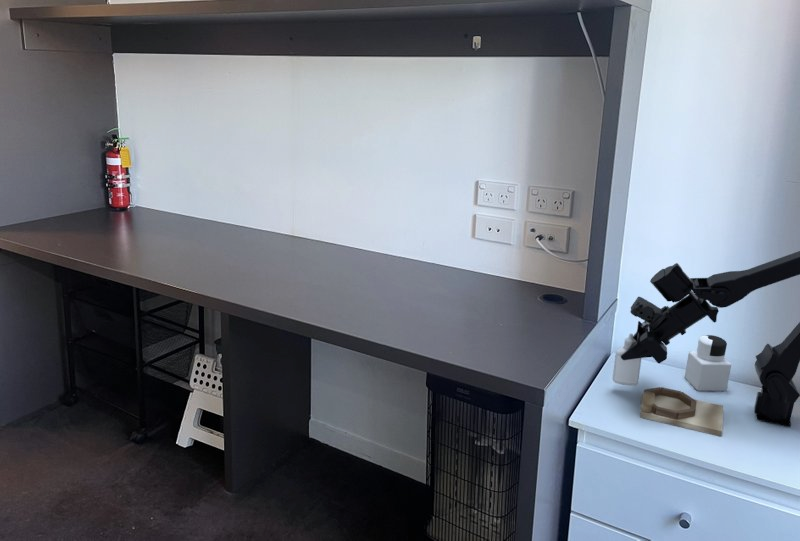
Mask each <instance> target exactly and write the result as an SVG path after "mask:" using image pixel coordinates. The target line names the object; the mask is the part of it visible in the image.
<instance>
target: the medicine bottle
mask: <svg viewBox="0 0 800 541" xmlns="http://www.w3.org/2000/svg"><path fill="white" fill-rule="evenodd" d="M727 345H728V342H727V341H726V340H725V339H724V338H722V337H720V336H718V335H711V334H707V335H706V334H705V335H702V336H699V338H698V342H697V347H696V348H697V349H696V350H695V351H694V350H693V351H692V350H691V351H688V354H687V360H686V365H685V370H684V378H685V379H686V380H687V382H688V383H690V385H692V386H693V388H694V389H695V390H696V391H697V392H698V391H699V392H726V391H727V389H728V385H729V380H730V375H731V370H732V363H731V362H729V360H728V359H726V358H725V357H726V356H725V355H726V351H727Z"/></svg>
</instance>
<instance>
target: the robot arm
mask: <svg viewBox="0 0 800 541" xmlns="http://www.w3.org/2000/svg"><path fill="white" fill-rule="evenodd" d="M797 276H800V250H799V251H796V252H793V253H790V254H787V255H785V256H781V257H779V258H776V259H773V260H771V261H767V262H765V263H762V264H760V265H756V266H754V267H750V268H748V269H744V270H735V271H734V270H733V271H732V270H731V271H726V272H725V271H724V272H720V273H719V272H718V273H716V274H715V273H714V274H712V275H710V276H709V277H692V278H691V277H689V276H688V275H687V274H686V272H685V271H684V270H683V268H682V267H681V265H680V264H679V263H678V262H676V263H674V264H673V265H670V266H667V267H665V268H662V269H660V270H659V271H658V272H656V273H655V274H654V275H653V276H652V277H651V279H650V281H649V283H650V284H652V286H653V287H654V288H655V289H656V290H657V291H658V293H659V294H660V295H661V296H662V297H663V298H664V300H666V302H672V303H674V304H673V305H671V306H669V305H667V306H666V305H665V306H662V308H660V307H658V305H656V304H654V303H652V302H650V301H649V300H647V299H645V298H643V297H641V296H638V297H636V299H635V301H634V302H633V303H632V305H631V306H630V312H629V313H630V314H631V315H632V316H634V317H636V318H637V317H638V318H639V319H641V320H643V322H641V321H640V320H638V322H637V328H636V329H637V330H636V332H635V333H634V334H633V339H635V340H636V342H635V343H634V344H633V345H632V346H631V347H630V348H629V349H628V350H627V351H625V352H624V353H623V354H622V355H621V358H622V359H623V360H630V359H637V358H641V359H645V358H653V360H655V361H656V362H657V364H661V363H662V362H665V361H666V360H667V357H668V347H667V346H668V345H670V344H671V341H670V340H672V339H674V338H675V337H677V336H678V335H679V334H680V335H681V336H683V335H685V334H686V333H687V331H686V330H688V329H689V328H690V327H692V326H694V324H696V323H699V322H700V321H702V320H703V319H704V318H706V317H708V318H709V319H710V320H711V322H712V323H717V319H718V318H717V317H718V314H719V311H720V310H719V309H720V308H721V309H722V308H723V309H724V308H729V307H730V306H732V305H733V304H735V303H738V302H739V301H741V300H743V299H744V298H746V297H747V296H748V295H749V294H750V293H751V294H752V293H753V292H755V291H756V290H758V289H762V288H764V287H767V286H770V285H774V284H776V283H778V282H783V281H785V280H788V279H790V278H794V277H797ZM755 359H756V360H755V362H754V370H755V372H756V375H757V377H758V380H759V382H760V384H761V387H760V388H761V389H760V391H757V393H756V398H755V402H754V408H753V409H754V410H753V411H754V414H755V416H756V417H755V418H756V420H757V421H761V422H765V423H769V424H774V425H779V426H784V427H787V428H791V427H792V421H791V418H792V416H793V410H794V406H795V403H796V402H797V400H798V399H799V397H800V392H799V390H798V388H797V386H796V385H795V382H794V381H793V378H794V377H795V375H796V373H797V372H798V369H799V368H798V367H799V364H800V321H799V322H798V324H796V326H794V328H793V329H792V331H790V333H789V334H788V335H787V336H786V337H785V339H783V341H782V342H780V343H779V344H776V345H775V346H772V345H771V344H769V343H766V344H765V345H764V347H763V349H762V351H761V352H760V353H758V354H757V355H755Z"/></svg>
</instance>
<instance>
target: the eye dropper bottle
mask: <svg viewBox="0 0 800 541" xmlns="http://www.w3.org/2000/svg"><path fill="white" fill-rule="evenodd" d="M633 336H634V334H633V333H629V335H628V337H626V338H624V343H623V347H619V348H617V349H616V351H615V356H614V361H613V362H614V364H613V370H612V372H613V373H612V381H613V382H614V383H615V384H618V385H622V386H637V385H638V384H639V379H640V370H641V364H642V358H637V359H630V360H623V359H622V358H621V355H622V354H623V353H624V352H625V351H627V350H628V349H629V348H630V347H631V346H632V345H633V344H634V343H635V342H636V340H635V339H633Z"/></svg>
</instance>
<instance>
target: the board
mask: <svg viewBox="0 0 800 541" xmlns="http://www.w3.org/2000/svg"><path fill="white" fill-rule="evenodd" d="M640 399H641V400H640V417H639V418H642V419H646V420H650V421H654V422H659V423H663V424H666V425H667V424H668V425H670V426H671V425H672V426H676V427H678V428H679V427H680V428H684V429H687V430H693V431H697V432H699V433H700V432H702V433H706V434H709V435H713V436H719V437H722V435H723V419H724V405H723V404H717V403H713V402H708V401H705V400H704V401H703V400H698V399H695V398H693V397H691V396H690V395H688V394H687V393H685V392H683V391H681V390H676V389H672V388H667V387H662V386H657V387H652V388H647V389H644V390H643V392H642V395H641V398H640Z"/></svg>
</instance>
